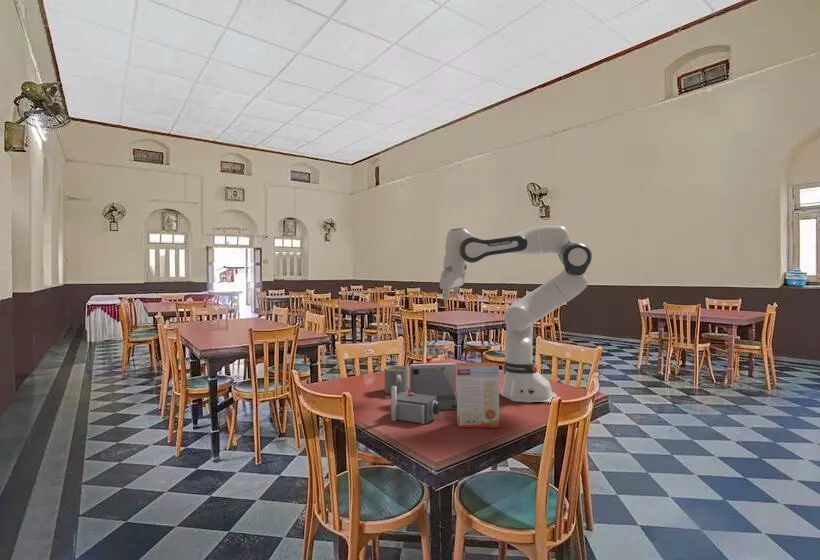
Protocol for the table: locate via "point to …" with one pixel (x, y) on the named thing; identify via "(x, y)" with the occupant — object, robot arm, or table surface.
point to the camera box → (422, 403)
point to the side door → (405, 409)
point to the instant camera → (435, 382)
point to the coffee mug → (396, 378)
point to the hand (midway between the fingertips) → (450, 297)
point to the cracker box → (478, 395)
